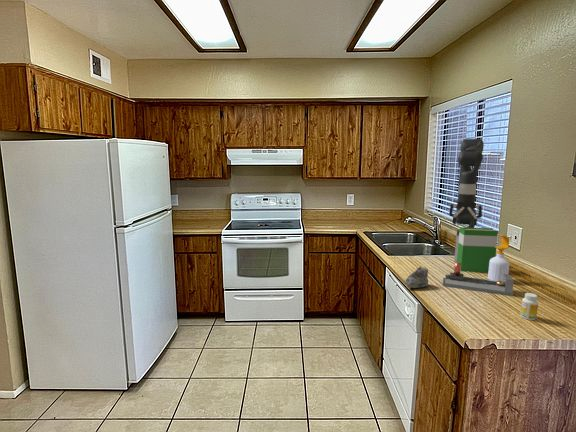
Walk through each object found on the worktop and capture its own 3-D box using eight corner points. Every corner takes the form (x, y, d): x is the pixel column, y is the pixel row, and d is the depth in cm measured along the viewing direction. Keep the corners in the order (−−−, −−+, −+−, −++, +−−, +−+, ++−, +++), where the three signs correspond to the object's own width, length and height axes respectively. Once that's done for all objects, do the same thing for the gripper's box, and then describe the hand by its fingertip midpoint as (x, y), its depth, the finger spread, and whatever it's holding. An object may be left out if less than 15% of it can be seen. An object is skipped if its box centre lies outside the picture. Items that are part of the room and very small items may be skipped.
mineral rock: (406, 290, 168) (407, 270, 166) (399, 282, 178) (400, 263, 177) (433, 290, 168) (434, 270, 166) (424, 282, 178) (426, 263, 177)
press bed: (443, 280, 182) (444, 266, 181) (510, 289, 169) (511, 274, 168) (442, 285, 174) (443, 271, 173) (513, 296, 161) (514, 280, 160)
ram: (449, 278, 179) (451, 261, 177) (462, 280, 176) (464, 262, 175) (449, 282, 174) (451, 263, 172) (462, 284, 171) (464, 265, 170)
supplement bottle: (518, 317, 139) (521, 294, 138) (521, 313, 143) (524, 291, 142) (535, 321, 136) (538, 298, 134) (537, 317, 140) (540, 294, 138)
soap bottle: (483, 278, 186) (488, 233, 182) (496, 276, 189) (500, 232, 185) (499, 283, 177) (504, 236, 174) (511, 281, 181) (517, 235, 177)
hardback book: (488, 268, 202) (492, 228, 199) (493, 272, 195) (498, 230, 191) (456, 267, 205) (459, 227, 201) (460, 271, 197) (464, 229, 194)
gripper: (482, 192, 170) (479, 225, 173) (450, 191, 176) (448, 222, 179) (484, 194, 164) (481, 228, 166) (451, 193, 169) (448, 225, 172)
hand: (464, 225), depth 173 cm, fingers open, 8 cm apart
